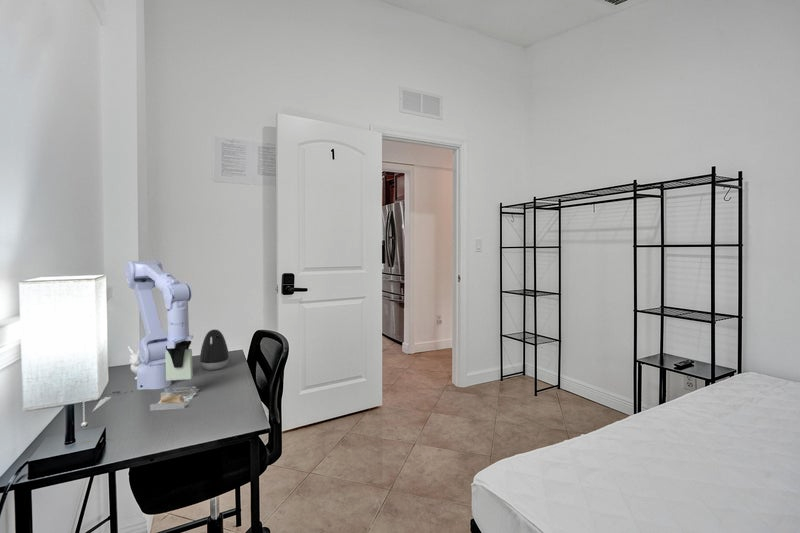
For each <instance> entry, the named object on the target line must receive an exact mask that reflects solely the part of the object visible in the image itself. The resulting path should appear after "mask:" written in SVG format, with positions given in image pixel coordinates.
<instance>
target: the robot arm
mask: <svg viewBox="0 0 800 533" xmlns="http://www.w3.org/2000/svg"><path fill="white" fill-rule="evenodd" d="M124 274H125V279H126V283H127V285H128V288H130V289H132V290H134V294H135V298H136V302H137V305H138V309H139V314H140V316H141V317H140V318H141V320H142V321H141V322H142V325H143V328H144V333H145V336H144V337H142V338H141V339H140V341H139V342H138V345H137V346H138V350H139V357H140V360H141V362H143V363H140V364H139V366H138V369H137V374H136V376H137V379H136V390H139V391H140V390H160V389H165V388H169V387H170V386H171V385H172V380H168V381H166V361H165V351H168V352H169V354H170V356H171V359H172V362H173V365H174V368H179V367H182V365H183V358H184V353H185V349H190V346H191V344H192V339H193V338H194V335H190V327H189V326H190V324H189V320H190V318H189V302H190V300H191V299H192V294H193V293H192V288H191V286H190V284H189V283H188V282H180V281H179V280H178V279H176V277H174V276H173V275H172V273H168V272H164V270H163V264H162V262H161V261H160V260H158V259H155V260H129V261H127V262H126V264H125V266H124ZM153 288H156V289H157V290H158V291H160V293H162V297H163V298H162V299H163V301H164V307H165V309H166V313H167V319H166V320H167V332H165V331H164V330H163V328H162V324H161V321H160V317H159V316H160V315H159V313H158V309H157V305H156V302H155V298H154V295H153V294H154V293H153Z"/></svg>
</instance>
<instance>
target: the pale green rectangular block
mask: <svg viewBox="0 0 800 533" xmlns="http://www.w3.org/2000/svg"><path fill="white" fill-rule="evenodd" d="M165 361H166V381H168V380H171V381H182V380H192V379H193V378H194V377H193V374H194V373H193V349H192V348H189V349H185V353H184V358H183V365H182V367H179V368H174V365H173V362H172V359H171V356H170V354H169V352H168V351H165Z"/></svg>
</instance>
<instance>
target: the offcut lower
mask: <svg viewBox="0 0 800 533" xmlns="http://www.w3.org/2000/svg"><path fill="white" fill-rule="evenodd" d="M159 401H160V400H159ZM159 401H158V402H159ZM158 402H157V403H158ZM179 402H184V398H182V399H181V400H180V401H179ZM160 403H161V401H160V402H159V403H158V404H160ZM164 403H175V402H164Z"/></svg>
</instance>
